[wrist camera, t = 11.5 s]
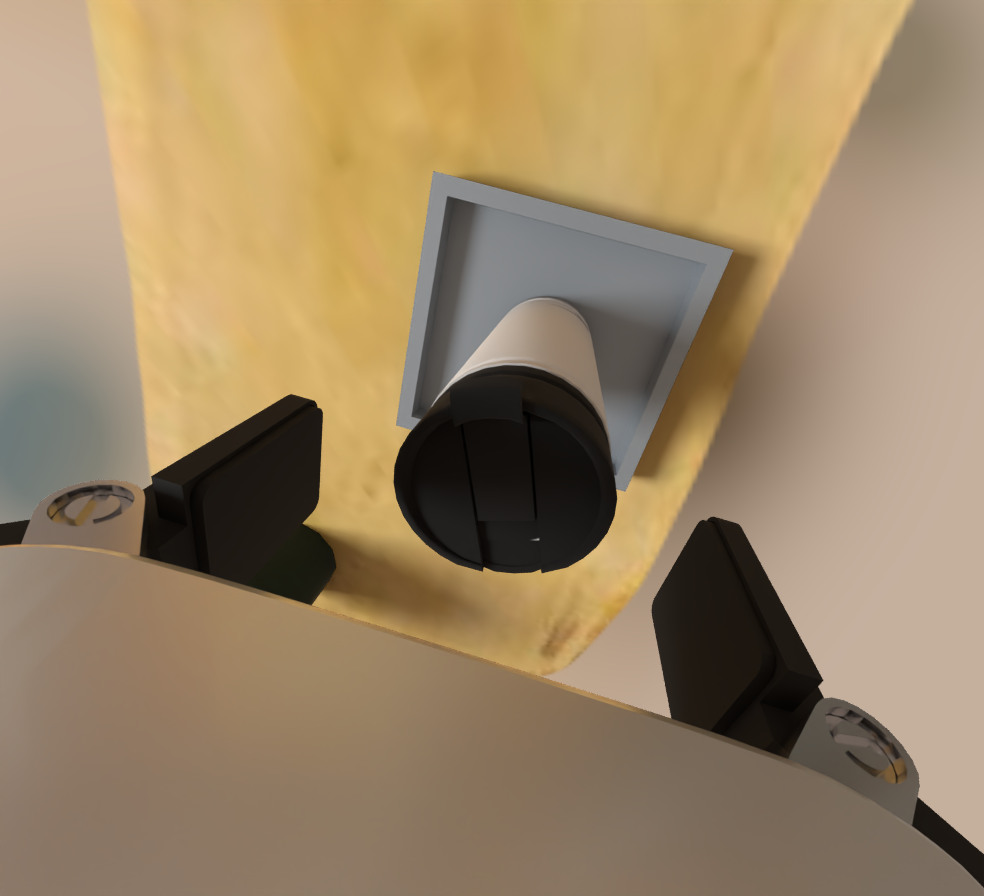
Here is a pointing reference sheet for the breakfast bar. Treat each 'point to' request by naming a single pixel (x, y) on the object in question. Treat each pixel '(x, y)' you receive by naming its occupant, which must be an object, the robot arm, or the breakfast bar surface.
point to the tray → (562, 274)
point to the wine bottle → (297, 567)
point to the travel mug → (515, 450)
